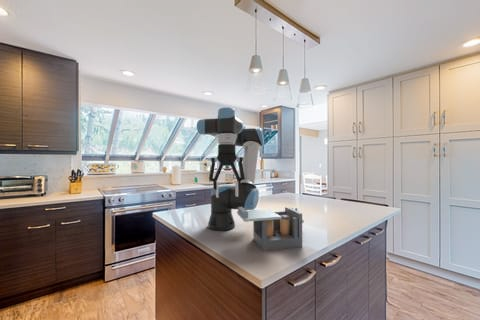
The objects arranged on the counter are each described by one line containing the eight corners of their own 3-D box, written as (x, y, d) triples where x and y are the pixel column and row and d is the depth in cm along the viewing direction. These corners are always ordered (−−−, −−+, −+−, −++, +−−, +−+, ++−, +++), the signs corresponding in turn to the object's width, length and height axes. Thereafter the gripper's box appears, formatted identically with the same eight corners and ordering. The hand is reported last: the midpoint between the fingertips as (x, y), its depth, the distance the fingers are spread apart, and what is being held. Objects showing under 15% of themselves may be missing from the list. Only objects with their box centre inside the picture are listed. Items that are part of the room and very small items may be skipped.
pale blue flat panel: (237, 213, 103) (237, 206, 103) (269, 211, 106) (269, 204, 106) (244, 221, 89) (244, 213, 89) (281, 218, 93) (281, 210, 93)
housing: (253, 239, 104) (253, 208, 104) (287, 235, 109) (287, 206, 109) (263, 250, 91) (263, 216, 91) (302, 246, 95) (302, 213, 95)
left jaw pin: (262, 242, 100) (262, 216, 100) (271, 241, 101) (271, 215, 101) (265, 245, 96) (265, 218, 96) (275, 244, 97) (274, 218, 97)
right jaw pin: (278, 240, 102) (278, 215, 102) (287, 239, 103) (287, 214, 103) (282, 244, 98) (282, 217, 98) (291, 243, 99) (291, 216, 99)
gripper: (203, 143, 88) (203, 199, 88) (252, 143, 93) (252, 196, 93) (201, 144, 95) (202, 196, 95) (247, 144, 100) (247, 194, 100)
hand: (227, 196), depth 94 cm, fingers open, 8 cm apart
